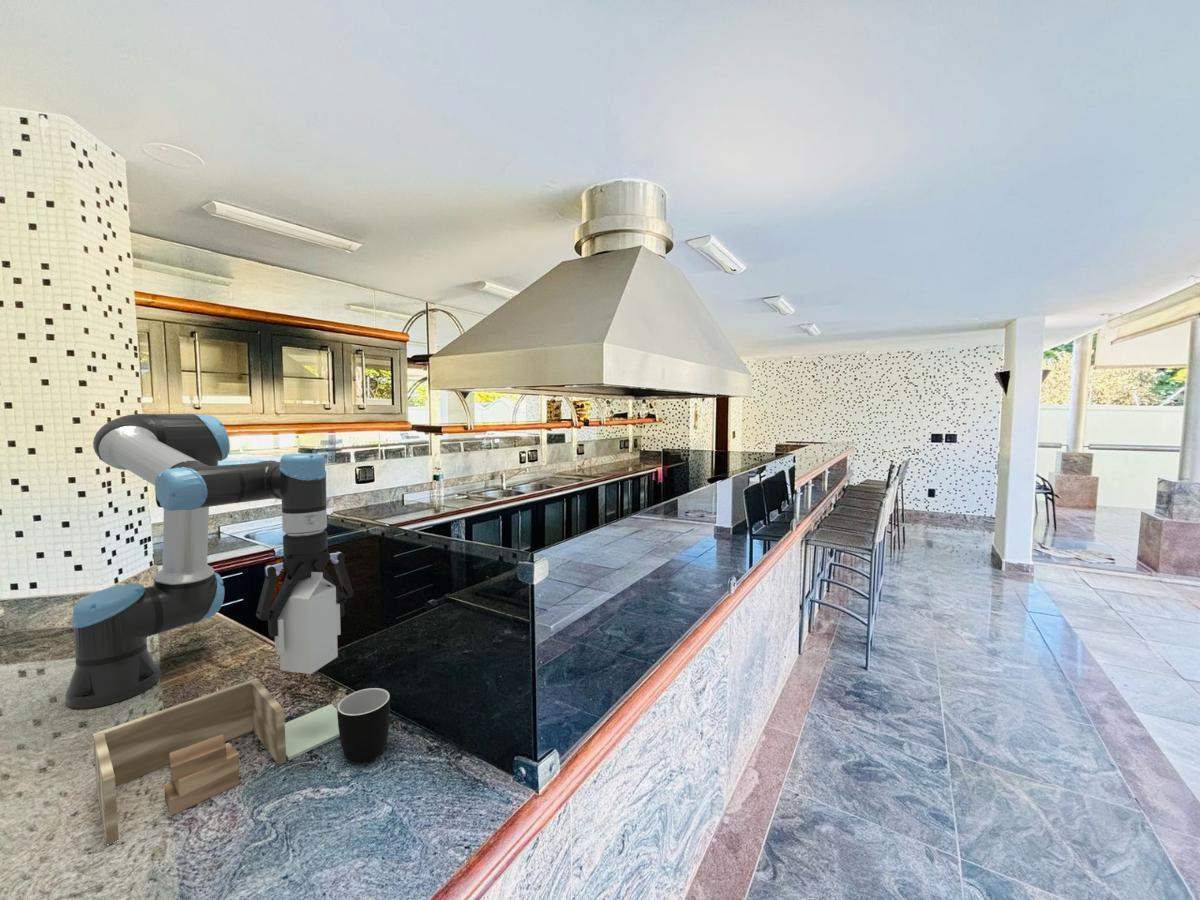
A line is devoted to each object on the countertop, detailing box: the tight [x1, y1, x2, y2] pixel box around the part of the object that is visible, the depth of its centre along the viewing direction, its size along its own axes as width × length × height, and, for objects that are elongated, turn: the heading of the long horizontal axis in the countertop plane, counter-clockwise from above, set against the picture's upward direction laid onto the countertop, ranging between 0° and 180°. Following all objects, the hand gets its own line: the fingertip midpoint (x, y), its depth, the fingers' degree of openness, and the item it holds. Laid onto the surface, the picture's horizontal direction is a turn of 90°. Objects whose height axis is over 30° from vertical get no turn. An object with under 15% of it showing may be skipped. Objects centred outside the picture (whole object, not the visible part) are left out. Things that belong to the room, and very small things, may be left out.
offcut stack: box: [163, 734, 240, 817], centre depth 82 cm, size 6×9×8 cm, turn 140°
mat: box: [285, 703, 340, 761], centre depth 98 cm, size 12×12×1 cm
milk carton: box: [279, 572, 339, 675], centre depth 96 cm, size 7×7×19 cm
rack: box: [92, 677, 287, 845], centre depth 85 cm, size 17×23×10 cm
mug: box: [336, 687, 391, 764], centre depth 92 cm, size 12×9×10 cm
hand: (309, 641), depth 97 cm, fingers closed on milk carton, 9 cm apart
